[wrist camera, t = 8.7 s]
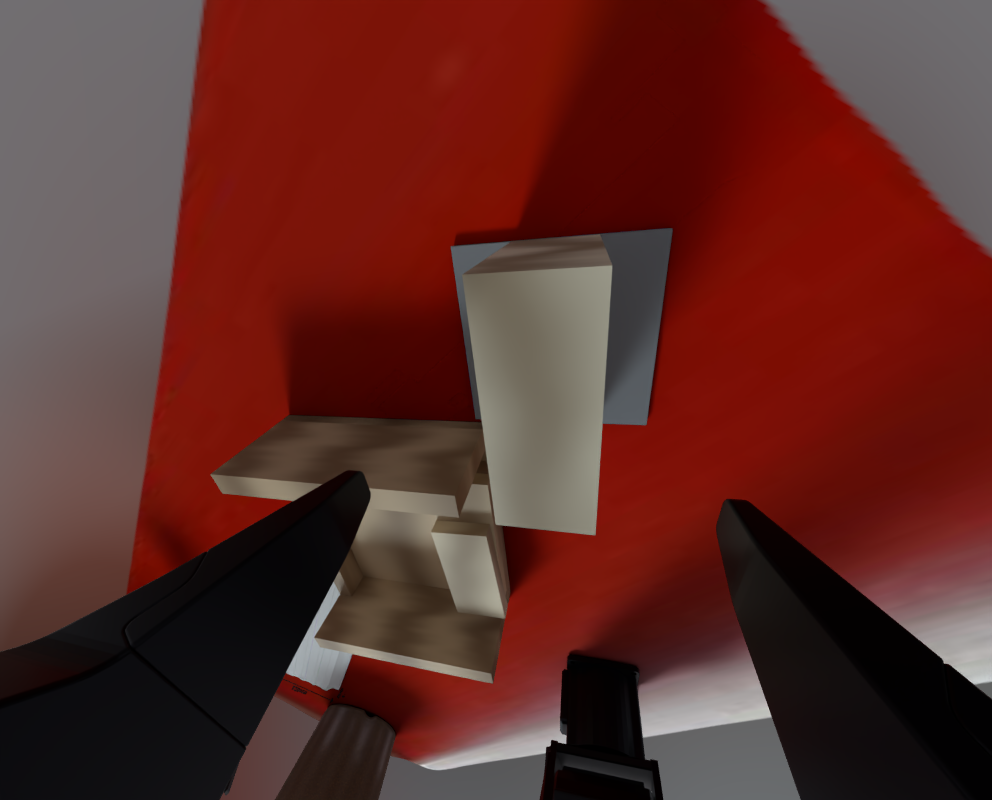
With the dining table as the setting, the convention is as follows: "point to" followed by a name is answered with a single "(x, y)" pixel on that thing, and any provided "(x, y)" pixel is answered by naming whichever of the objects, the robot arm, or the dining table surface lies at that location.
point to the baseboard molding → (320, 654)
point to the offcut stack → (475, 552)
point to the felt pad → (630, 316)
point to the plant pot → (342, 758)
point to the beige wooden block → (542, 377)
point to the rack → (384, 532)
